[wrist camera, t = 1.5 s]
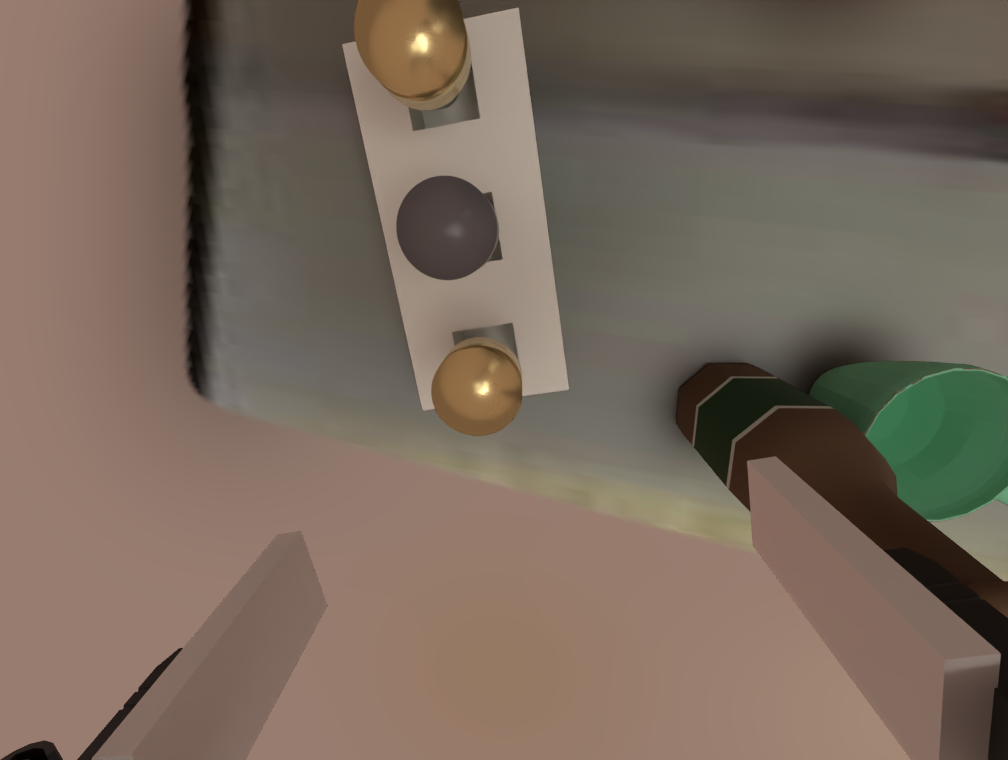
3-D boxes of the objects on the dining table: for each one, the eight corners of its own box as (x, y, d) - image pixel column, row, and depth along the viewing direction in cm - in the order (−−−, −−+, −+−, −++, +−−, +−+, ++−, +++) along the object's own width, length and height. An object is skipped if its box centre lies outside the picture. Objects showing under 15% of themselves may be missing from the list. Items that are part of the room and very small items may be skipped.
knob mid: (421, 199, 30) (386, 185, 22) (496, 185, 29) (486, 167, 22) (436, 275, 31) (408, 287, 23) (508, 263, 31) (503, 271, 23)
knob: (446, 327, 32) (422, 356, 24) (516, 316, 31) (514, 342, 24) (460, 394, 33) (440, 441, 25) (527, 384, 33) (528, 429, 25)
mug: (750, 420, 39) (824, 480, 29) (827, 311, 36) (936, 337, 27) (900, 497, 40) (1018, 578, 31) (985, 397, 38) (1143, 451, 28)
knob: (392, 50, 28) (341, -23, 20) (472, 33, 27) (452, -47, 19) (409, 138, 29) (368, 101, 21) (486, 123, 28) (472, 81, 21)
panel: (373, 77, 33) (342, 44, 27) (519, 48, 32) (518, 7, 27) (437, 385, 39) (422, 410, 33) (562, 366, 38) (568, 389, 32)
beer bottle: (658, 378, 38) (863, 590, 15) (757, 342, 37) (1139, 510, 14) (687, 463, 40) (909, 766, 17) (782, 430, 39) (1156, 706, 16)
